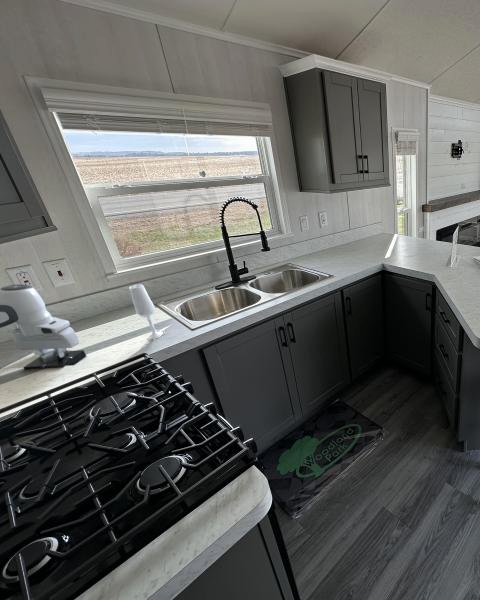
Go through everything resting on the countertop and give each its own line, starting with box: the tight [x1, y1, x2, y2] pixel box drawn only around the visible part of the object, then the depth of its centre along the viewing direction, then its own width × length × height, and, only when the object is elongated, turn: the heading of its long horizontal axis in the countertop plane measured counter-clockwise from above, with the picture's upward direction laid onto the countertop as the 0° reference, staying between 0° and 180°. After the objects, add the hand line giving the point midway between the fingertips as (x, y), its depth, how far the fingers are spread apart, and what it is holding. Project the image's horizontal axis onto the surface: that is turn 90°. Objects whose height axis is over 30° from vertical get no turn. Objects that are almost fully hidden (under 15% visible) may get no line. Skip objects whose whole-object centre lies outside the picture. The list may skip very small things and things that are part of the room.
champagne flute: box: [128, 283, 164, 340], centre depth 141 cm, size 7×7×24 cm
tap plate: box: [22, 349, 87, 371], centre depth 127 cm, size 14×11×3 cm
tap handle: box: [39, 348, 69, 363], centre depth 126 cm, size 7×2×4 cm, turn 159°
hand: (56, 357), depth 126 cm, fingers closed on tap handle, 2 cm apart
